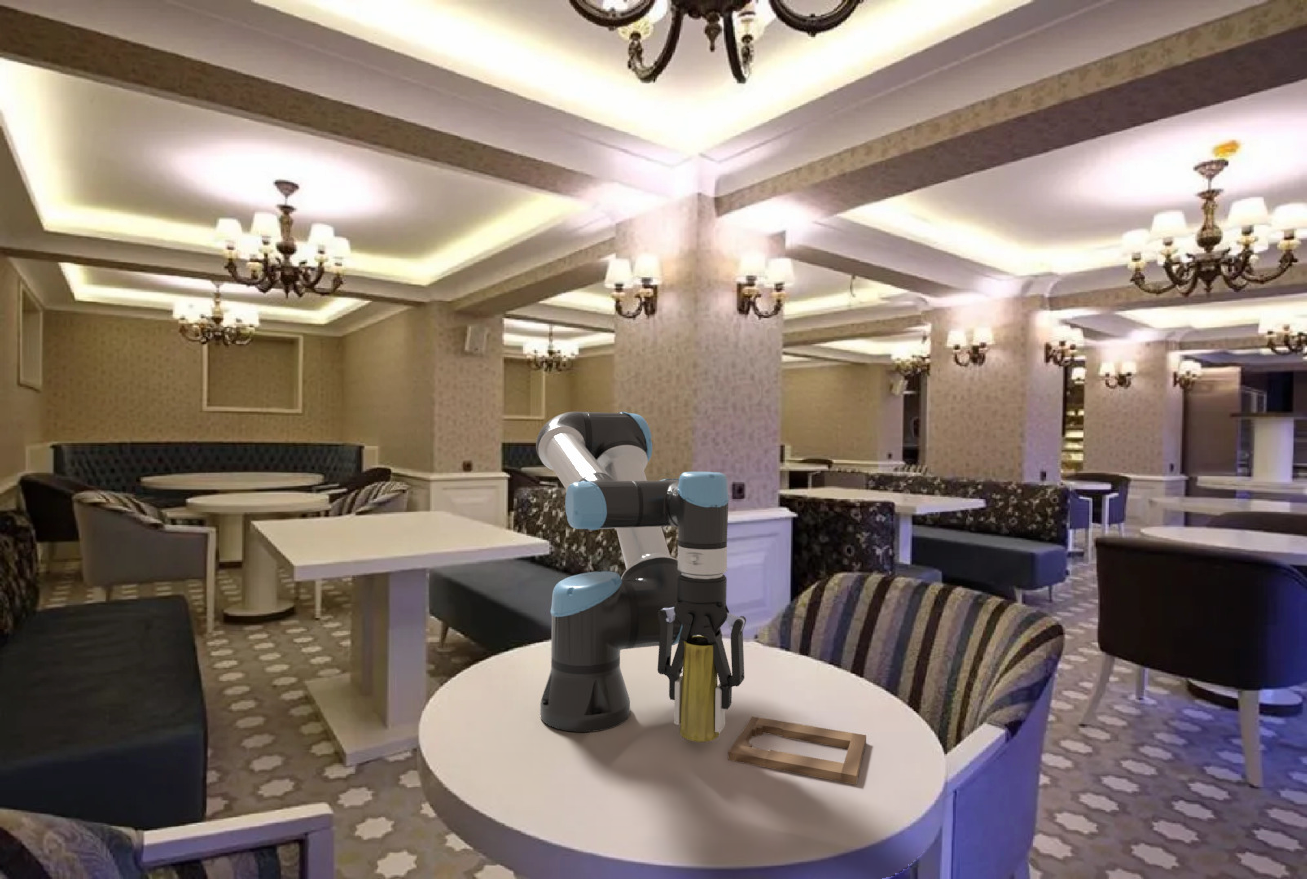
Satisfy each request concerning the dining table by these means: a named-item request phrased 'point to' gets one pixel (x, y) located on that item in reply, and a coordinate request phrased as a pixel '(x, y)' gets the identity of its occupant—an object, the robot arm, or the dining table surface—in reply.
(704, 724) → the vase
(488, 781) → the dining table surface
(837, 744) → the keyhole board
